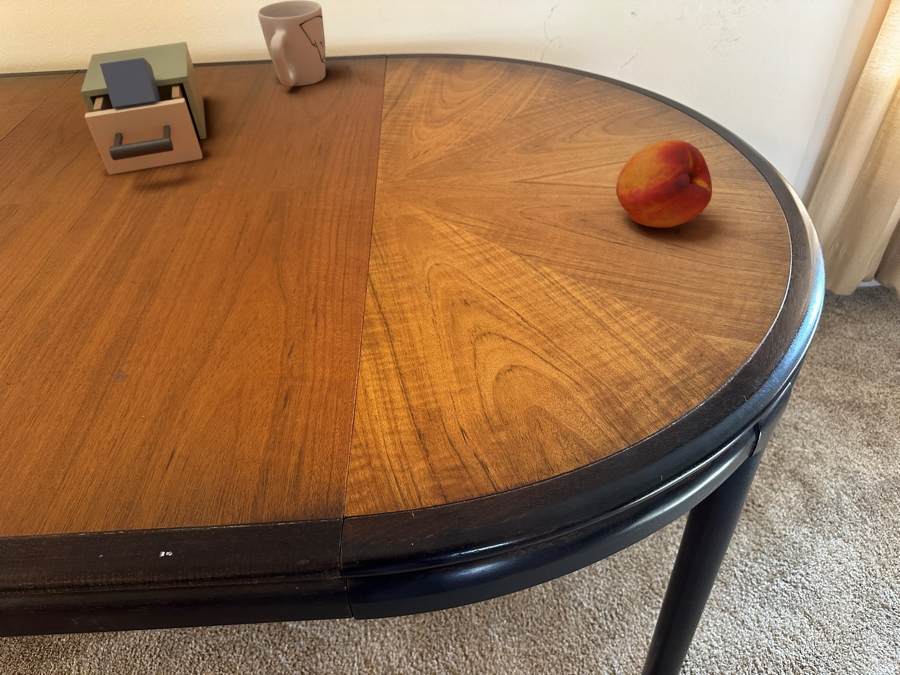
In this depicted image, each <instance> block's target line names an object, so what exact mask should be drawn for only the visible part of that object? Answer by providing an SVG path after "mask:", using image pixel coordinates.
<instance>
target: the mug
mask: <svg viewBox="0 0 900 675" xmlns="http://www.w3.org/2000/svg"><path fill="white" fill-rule="evenodd" d="M257 16H258V20H259V24H260V27H261V31H262V34H263V37H264V40H265V44H266V47H267V48H266V49H267V51H268V55H269V56H270V59H271V61H272V64H273V67H274V69H275V72H276V75H277V78H278V80H279V82H280V83H281V85H282V86H283V87H286V88H287V87H288V88H290V87H299V86H308V85H312V84H315V83H318V82H320V81H322V80H324V78H326V38H325V37H326V36H325V28H324V17H323V9H322V5H321V4H320V3H319V2H317V1H313V0H285V1H284V0H283V1H278V2H274V3H270V4H268V5H267V4H266V5H265V6H263V7H261V8H260V9H259V10H258V12H257Z"/></svg>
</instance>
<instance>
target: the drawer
mask: <svg viewBox="0 0 900 675" xmlns="http://www.w3.org/2000/svg"><path fill="white" fill-rule="evenodd" d="M157 88H158V91H159V95H160V98H161V102H155V103H149V104H142V105H136V106H129V107H123V108H116V109H115V108H113V107H112V103H111V100H110V97H109V94H103V95H97V96H96V100H95V104H94V108H93V110H94V112H90V113H89V112H85V115H84V120H85V122H86V124H87V126H88V130H89V131H90V133H91V136H92V138H93V141H94V143H95V145H96V149H97V150H98V153H99V155H100V156H101V160H102V162H103V164H104V167H105V169H106V172H107V174H108V175H109V176H111V175H117V174H121V173H122V174H123V173H127V172H133V171H140V170H145V169H150V168H151V169H152V168H157V167H162V166H163V167H164V166H168V165H174V164H179V163H185V162H192V161H198V160H202V159H203V153H202V149H201V146H200V143H199V140H198V137H197V132H196V124H195V120H194V117H193V114H192V111H191V108H190V104H189V101H188V98H187V95H186V92H185V88H184V85H183V83H177V84H171V85H164V86H157Z"/></svg>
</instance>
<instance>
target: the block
mask: <svg viewBox="0 0 900 675" xmlns="http://www.w3.org/2000/svg"><path fill="white" fill-rule="evenodd" d="M100 67H101V70H102V73H103V77H104V80H105V83H106V87H107V90H108V93H109V97H110V100H111V103H112V107H113V108H115V109H116V108H123V107H129V106H136V105H142V104H149V103H155V102H161V98H160V95H159V91H158V88H157V84H156V81H155V77H154V74H153V70H152V66H151V65H150V64H149V63H148V62H147V61H146V60H145V59H144V58H137V59H130V60H122V61H115V62H108V63H101V64H100Z"/></svg>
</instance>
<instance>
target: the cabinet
mask: <svg viewBox="0 0 900 675" xmlns="http://www.w3.org/2000/svg"><path fill="white" fill-rule="evenodd" d="M137 58H144V59H145V60H146V61H147V62H148V63H149V64H150V65H151V66H152V70H153V74H154V77H155V81H156V84H157V86H164V85H171V84H177V83H183V85H184V88H185V92H186V95H187V98H188V101H189V104H190V108H191V111H192V114H193V117H194V120H195V128H196V130H197V133H198V136H199V140H204V139H207V130H206V129H207V128H206V117H205V106H204V105H205V104H204V97H203V95H202V91H201V87H200V85H199V81H198V77H197V74H196V71H195V67H194V64H193V60H192V57H191V54H190V50H189V48H188V44H187V42H186V41H182V42H174V43H167V44H166V43H165V44H160V45H159V44H158V45H152V46H146V47H139V48H131V49H123V50H115V51H109V52H101V53H94V54H93V53H92V54H91V57H90V61H89V64H88V66H87V70H86V74H85V77H84V80H83V83H82V87H81V89H80V93H81V97H82V99H83V101H84V104H85V106H86V108H87V110H88V113H90V112H94V110H93V108H94V104H95V100H96V96H97V95H103V94H109V93H108V90H107V87H106V83H105V80H104V77H103V73H102V70H101V67H100V64H101V63H108V62H115V61H122V60H130V59H137Z"/></svg>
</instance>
